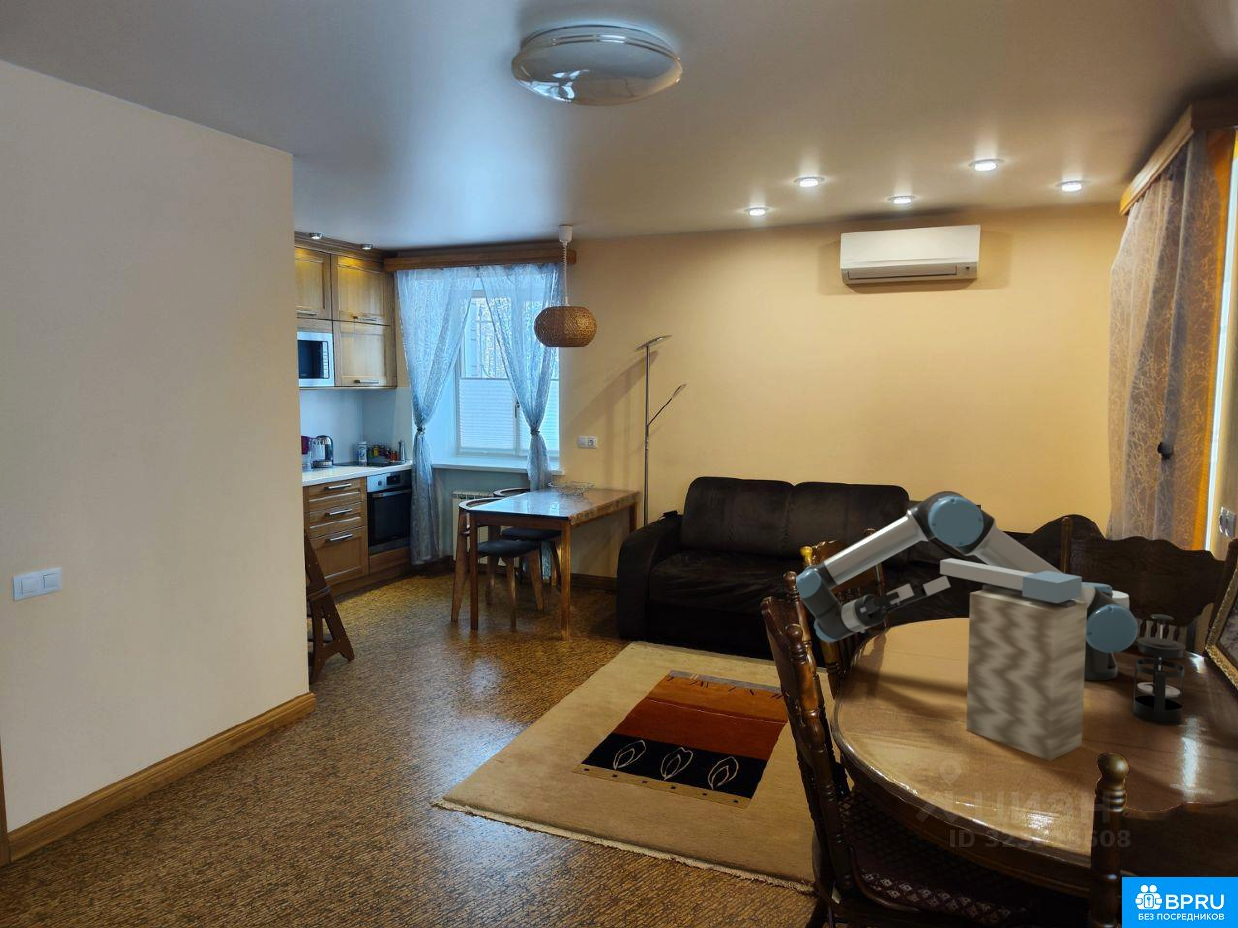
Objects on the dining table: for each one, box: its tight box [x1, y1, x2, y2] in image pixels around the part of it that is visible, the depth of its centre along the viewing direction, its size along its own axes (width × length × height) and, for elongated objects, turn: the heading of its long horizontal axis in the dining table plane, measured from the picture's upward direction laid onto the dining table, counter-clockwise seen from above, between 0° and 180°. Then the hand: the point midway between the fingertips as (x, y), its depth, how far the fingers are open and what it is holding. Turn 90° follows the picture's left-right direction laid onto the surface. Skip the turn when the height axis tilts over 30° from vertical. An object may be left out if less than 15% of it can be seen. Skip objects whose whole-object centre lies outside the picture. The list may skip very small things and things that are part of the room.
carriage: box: [939, 557, 1083, 603], centre depth 169 cm, size 28×9×4 cm, turn 33°
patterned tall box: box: [966, 583, 1087, 762], centre depth 166 cm, size 18×12×31 cm, turn 33°
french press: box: [1131, 613, 1187, 727], centre depth 176 cm, size 12×9×23 cm
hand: (929, 585), depth 184 cm, fingers open, 13 cm apart
